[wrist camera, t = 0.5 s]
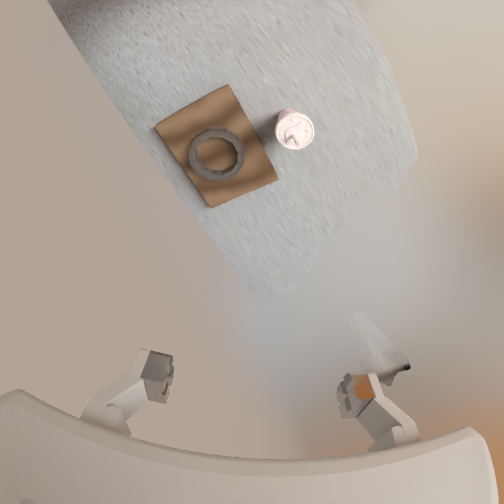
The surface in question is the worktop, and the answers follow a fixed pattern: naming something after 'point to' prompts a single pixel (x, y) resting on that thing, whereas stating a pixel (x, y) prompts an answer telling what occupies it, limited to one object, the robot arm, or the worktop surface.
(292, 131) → the smoothie
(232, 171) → the stand
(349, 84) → the worktop surface
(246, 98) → the worktop surface
